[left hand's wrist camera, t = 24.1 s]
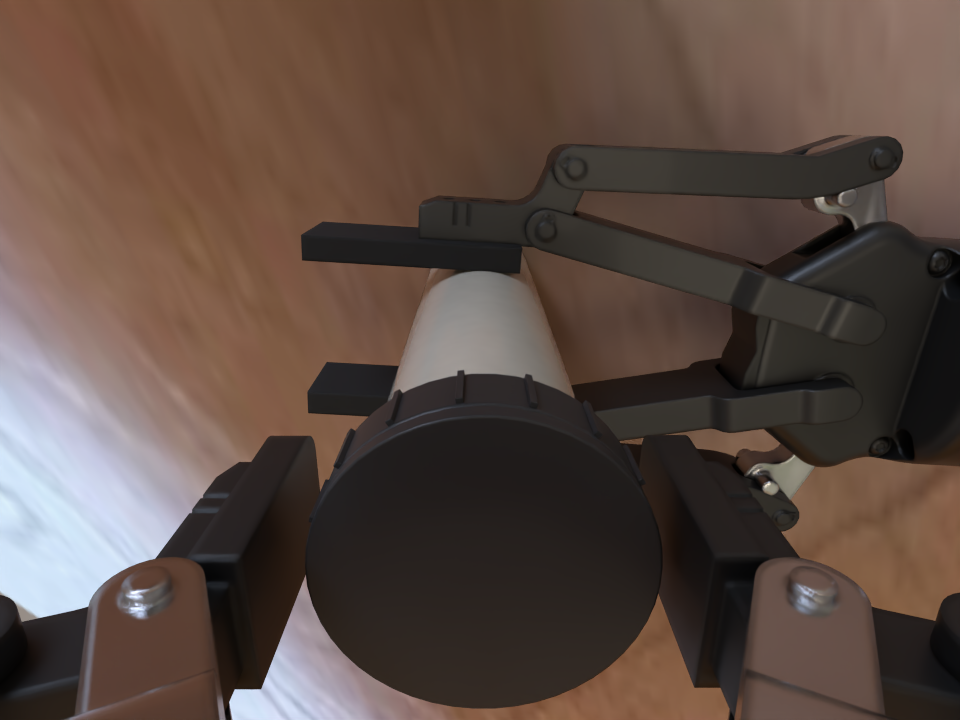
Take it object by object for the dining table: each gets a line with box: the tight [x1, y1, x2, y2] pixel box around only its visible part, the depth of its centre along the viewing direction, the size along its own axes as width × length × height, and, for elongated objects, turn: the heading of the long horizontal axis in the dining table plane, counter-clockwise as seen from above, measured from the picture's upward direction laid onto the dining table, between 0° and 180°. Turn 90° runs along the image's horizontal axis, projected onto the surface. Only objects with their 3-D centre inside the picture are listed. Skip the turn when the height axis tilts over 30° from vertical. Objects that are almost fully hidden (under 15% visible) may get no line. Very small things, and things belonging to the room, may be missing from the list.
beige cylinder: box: [387, 254, 576, 402], centre depth 18 cm, size 4×4×18 cm
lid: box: [305, 370, 663, 708], centre depth 10 cm, size 5×5×2 cm
